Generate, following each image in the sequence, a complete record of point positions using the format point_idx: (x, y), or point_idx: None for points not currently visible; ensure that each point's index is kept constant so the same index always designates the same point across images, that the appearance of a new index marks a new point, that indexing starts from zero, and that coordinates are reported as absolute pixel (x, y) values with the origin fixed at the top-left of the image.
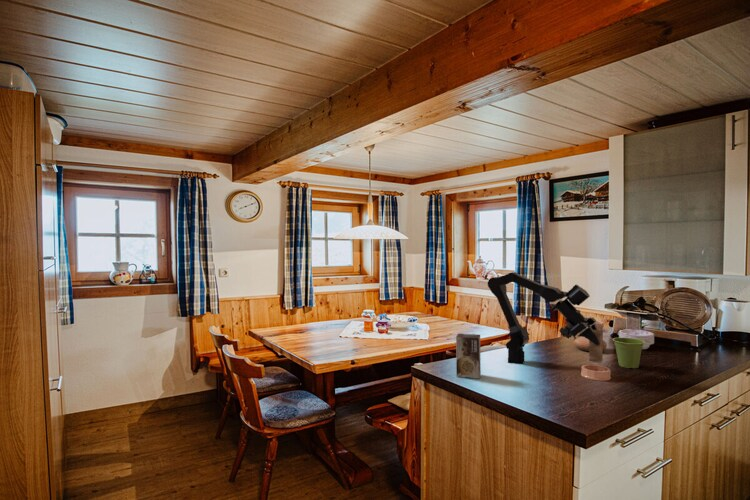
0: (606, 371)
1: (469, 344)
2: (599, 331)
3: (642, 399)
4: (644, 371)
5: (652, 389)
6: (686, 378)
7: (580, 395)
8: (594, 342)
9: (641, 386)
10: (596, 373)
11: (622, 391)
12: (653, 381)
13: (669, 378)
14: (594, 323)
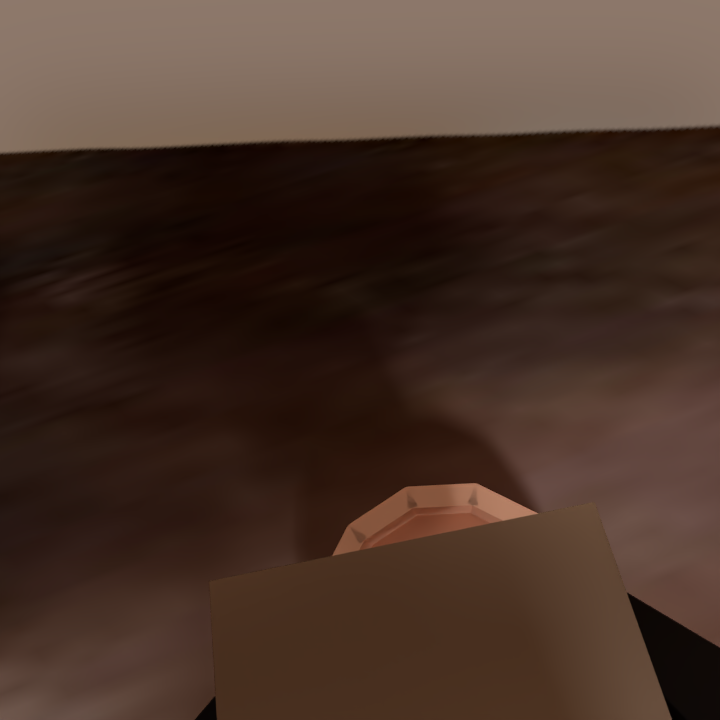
0: (480, 495)
1: None
2: (458, 610)
3: (696, 180)
4: (13, 406)
5: (423, 224)
6: (35, 205)
7: None
8: None
9: (415, 283)
10: None
11: (658, 311)
12: (233, 283)
13: (94, 254)
14: None
